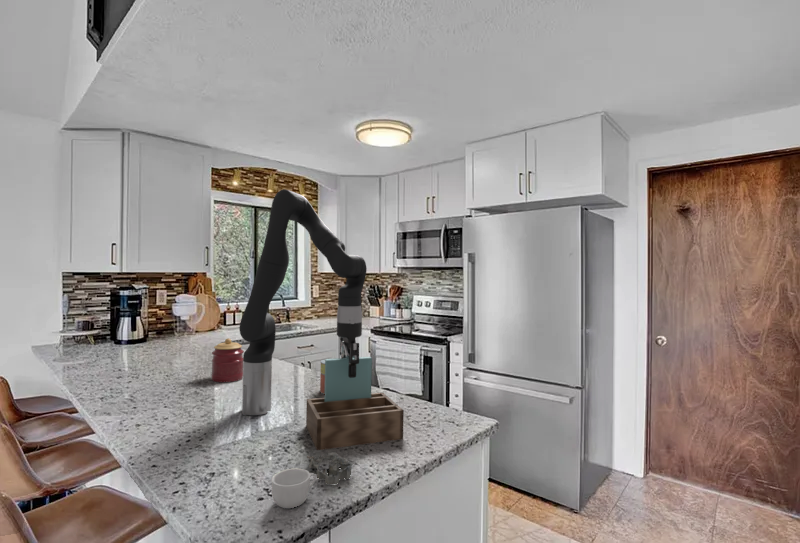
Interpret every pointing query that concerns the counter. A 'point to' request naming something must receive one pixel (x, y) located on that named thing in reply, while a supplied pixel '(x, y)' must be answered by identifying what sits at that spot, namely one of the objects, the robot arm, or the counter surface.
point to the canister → (227, 362)
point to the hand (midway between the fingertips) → (348, 374)
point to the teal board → (347, 379)
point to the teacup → (291, 487)
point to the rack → (353, 421)
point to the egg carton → (331, 468)
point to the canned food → (323, 376)
